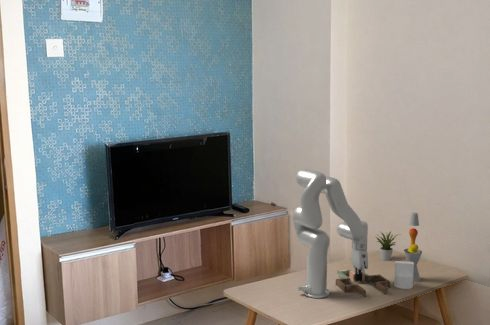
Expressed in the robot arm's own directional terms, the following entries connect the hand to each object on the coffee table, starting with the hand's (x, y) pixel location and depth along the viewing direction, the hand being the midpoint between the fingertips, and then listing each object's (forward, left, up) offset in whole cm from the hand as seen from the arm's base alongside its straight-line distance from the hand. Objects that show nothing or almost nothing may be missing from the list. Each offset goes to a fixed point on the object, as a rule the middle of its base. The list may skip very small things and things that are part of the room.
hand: (358, 280), depth 290 cm
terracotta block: (+2, +5, -1) cm, 5 cm away
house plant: (+34, +30, -1) cm, 46 cm away
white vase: (+20, -10, -1) cm, 22 cm away
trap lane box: (0, -3, -1) cm, 3 cm away
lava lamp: (+29, -3, -1) cm, 29 cm away
